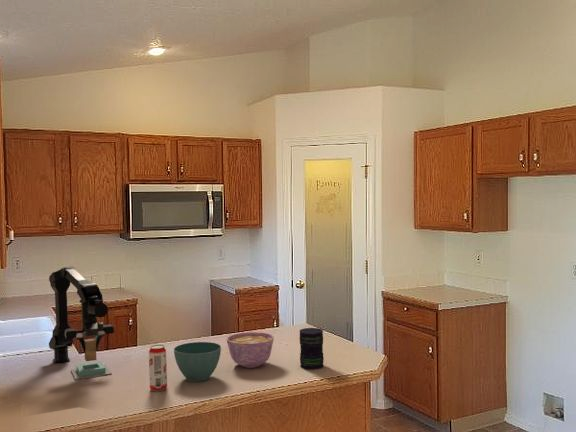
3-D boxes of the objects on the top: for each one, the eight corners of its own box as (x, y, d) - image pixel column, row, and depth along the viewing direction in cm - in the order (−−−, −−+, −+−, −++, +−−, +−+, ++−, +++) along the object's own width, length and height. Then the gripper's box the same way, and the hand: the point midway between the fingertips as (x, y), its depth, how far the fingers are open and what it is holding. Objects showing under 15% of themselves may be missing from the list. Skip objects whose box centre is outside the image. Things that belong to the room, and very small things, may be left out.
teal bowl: (200, 368, 239) (199, 339, 239) (231, 376, 227) (230, 345, 227) (165, 380, 225) (164, 348, 225) (196, 389, 213) (195, 356, 213)
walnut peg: (84, 359, 237) (84, 339, 237) (94, 357, 239) (94, 338, 239) (86, 361, 234) (85, 341, 233) (96, 360, 236) (95, 340, 235)
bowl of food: (217, 368, 239) (217, 340, 238) (243, 356, 256) (242, 330, 256) (259, 374, 229) (258, 345, 229) (283, 361, 247) (282, 334, 247)
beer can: (150, 392, 210) (148, 349, 210) (149, 387, 216) (148, 345, 216) (167, 391, 212) (166, 347, 211) (166, 385, 218) (165, 343, 217)
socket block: (70, 370, 240) (70, 364, 240) (105, 365, 246) (105, 359, 246) (75, 380, 227) (74, 373, 227) (111, 374, 234) (111, 368, 233)
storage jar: (321, 370, 233) (321, 333, 233) (298, 369, 235) (297, 333, 235) (325, 363, 243) (324, 328, 242) (302, 362, 245) (301, 327, 244)
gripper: (67, 320, 224) (68, 360, 225) (116, 315, 233) (117, 353, 233) (64, 315, 234) (65, 353, 235) (111, 310, 243) (112, 347, 243)
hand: (90, 352), depth 236 cm, fingers closed on walnut peg, 4 cm apart
